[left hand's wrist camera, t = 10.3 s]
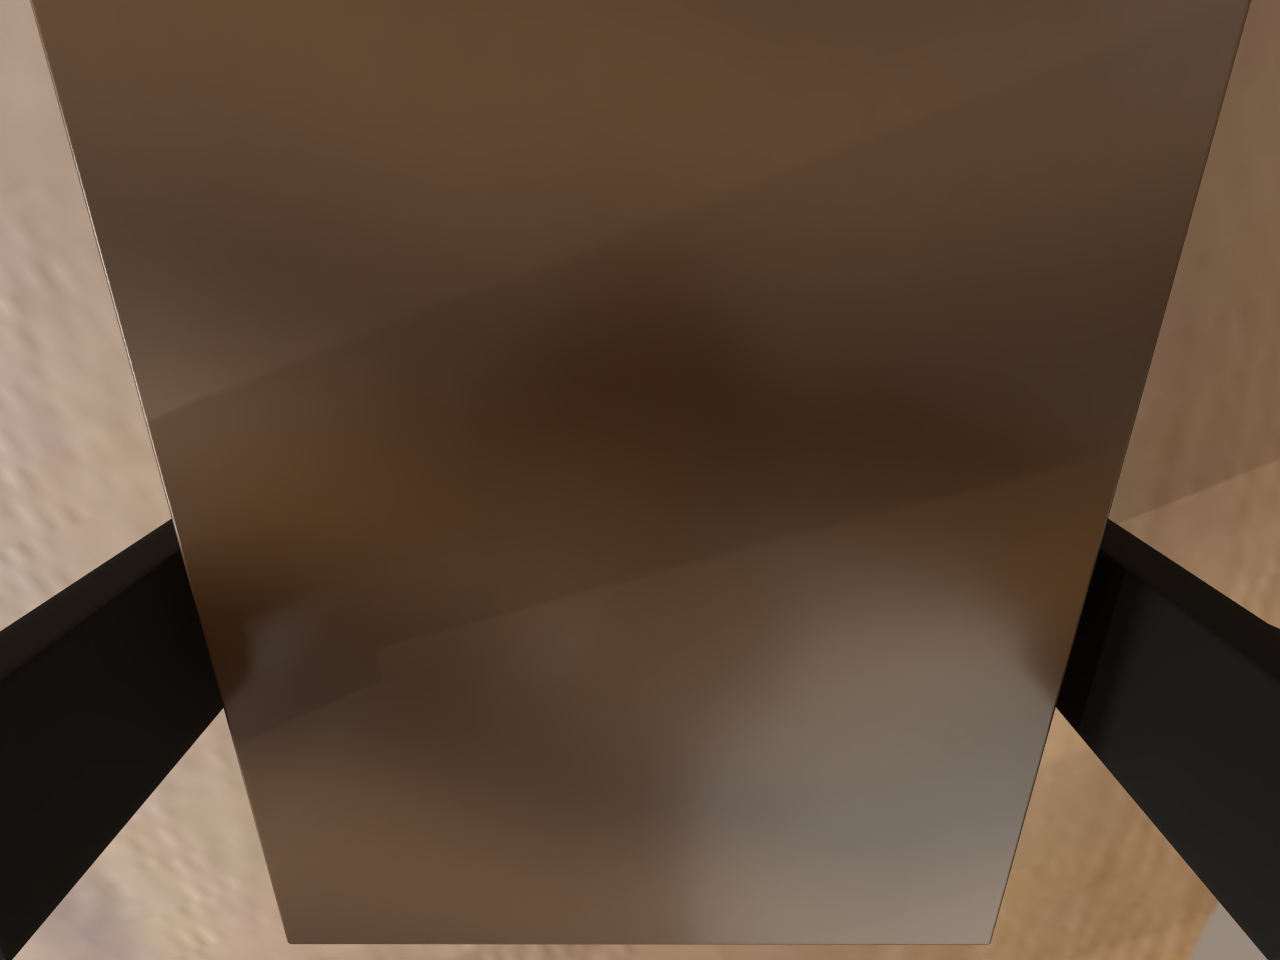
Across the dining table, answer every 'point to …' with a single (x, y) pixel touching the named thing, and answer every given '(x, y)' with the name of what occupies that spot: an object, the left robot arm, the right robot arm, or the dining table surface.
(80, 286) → the dining table surface
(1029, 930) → the dining table surface
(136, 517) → the dining table surface
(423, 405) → the cabinet
